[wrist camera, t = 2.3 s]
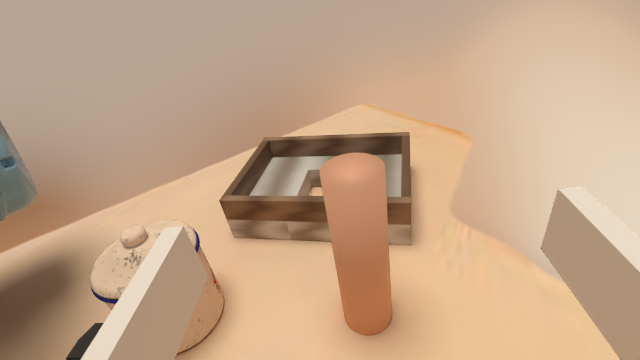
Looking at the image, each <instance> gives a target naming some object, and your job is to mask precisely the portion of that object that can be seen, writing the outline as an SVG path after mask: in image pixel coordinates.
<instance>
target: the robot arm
mask: <svg viewBox="0 0 640 360" xmlns="http://www.w3.org/2000/svg"><path fill="white" fill-rule="evenodd" d="M36 195H37V192H36V188H35V185H34V183H33V181H32V178H31V176H30V174H29V172H28V170H27V168H26V166H25V164H24V162H23V160H22V158H21V156H20V155H19V153H18V151H17V149H16V147H15V145H14V144H13V142H12V140H11V138H10V137H9V135H8V133H7V132H6V130H5V128H4V126H3V125H2V123H1V121H0V221H2V220H4V219H5V218H6V217H7V216H9V215H11V214H13V213H16V212H18V211H20V210H22V209H24V208H26V207H28V206H30V205H31V204H32V203H33V202H34V200H35V199H36ZM541 250H542V251H543V252H544V254H545V255H546V257H547V258H548V259H549V261H550V262H551V264H552V265H553V266H554V268H555V269H556V270H557V272H558V273H559V275H560V276H561V278H562V279H563V280H564V282H565V283H566V284H567V286H568V287H569V289H570V290H571V291H572V293H573V294H574V296H575V297H576V298H577V300H578V301H579V303H580V304H581V305H582V307H583V308H584V310H585V311H586V312H587V314H588V315H589V317H590V318H591V319H592V321H593V322H594V323H595V325H596V326H597V328H598V329H599V330H600V332H601V333H602V335H603V336H604V337H605V339H606V340H607V342H608V343H609V344H610V346H611V347H612V349H613V350H614V351H615V353H616V354H617V355H618V357H619V358H620V360H640V237H638V236H637V235H636V234H635V233H634V232H633V231H632V230H631V229H630V228H629V227H627V226H626V225H625V224H624V223H623V222H622V221H621V220H620V219H618V217H616V216H615V215H614V214H613V213H612V212H611V211H610V210H609V209H608V208H606V207H605V206H604V205H603V204H602V203H601V202H599V200H598V199H597V198H595V197H594V196H593V195H592V194H591V193H590V192H589V191H588V190H587V189H585V188H584V187H583V186H582V187H571V188H561V189H558V191H557V194H556V198H555V202H554V205H553V208H552V211H551V215H550V219H549V222H548V225H547V229H546V232H545V236H544V239H543V243H542V246H541ZM207 277H208V274H207V272H206V270H205V268H204V266H203V264H202V262H201V260H200V258H199V256H198V254H197V252H196V250H195V248H194V246H193V244H192V242H191V240H190V238H189V236H188V234H187V232H186V230H185V228H184V226H177V227H167V228H164V229H163V231H162V232H161V234H160V235H159V237H158V238H157V240H156V242H155V243H154V245H153V246H152V248H151V250H150V251H149V253H148V254H147V256H146V257H145V259H144V261H143V262H142V264H141V265H140V267H139V268H138V270H137V272H136V273H135V275H134V276H133V278H132V279H131V281H130V283H129V284H128V286H127V287H126V289H125V290H124V292H123V294H122V295H121V297H120V298H119V300H118V302H117V303H116V305H115V306H114V308H113V309H112V311H111V313H110V314H109V316H108V317H107V319H106V320H105V322H104V323H95V324H94V325H93V326H92V327H91V328H90V329H89V330H88V331H87V332H86V333H85V334H84V335H83V336H82V337H81V338H80V339H79V340H78V341H77V343H76V344H75V346H74V347H73V349H72V350H71V352H70V353H69V355H68V356H67V358H66V360H174V359H175V357H176V354H177V352H178V349H179V347H180V344H181V342H182V339H183V337H184V334H185V332H186V329H187V327H188V324H189V322H190V319H191V317H192V314H193V312H194V309H195V307H196V304H197V302H198V299H199V297H200V294H201V292H202V289H203V287H204V284H205V282H206V279H207Z"/></svg>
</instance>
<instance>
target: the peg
mask: <svg viewBox="0 0 640 360" xmlns="http://www.w3.org/2000/svg"><path fill="white" fill-rule="evenodd" d="M320 180H321V185H322V191H323V197H324V202H325V208H326V214H327V219H328V225H329V231H330V236H331V242H332V248H333V253H334V259H335V265H336V270H337V276H338V282H339V287H340V293H341V299H342V304H343V310H344V316H345V320H346V322H347V324H348V325H349V327H350V328H351V329H353V330H354V331H355V332H357V333H360V334H364V335H374V334H377V333H380V332H382V331H383V330H384V329H386V328H387V326H388V325H389V323H390V321H391V318H392V307H391V284H390V262H389V240H388V218H387V196H386V173H385V164H384V162H383V161H382V160H381V159H380V158H378V157H377V156H374V155H371V154H367V153H347V154H342V155H339V156H336V157H333V158H332V159H330V160H328V161H327V162H325V163H324V164H323V166H322V167H321V169H320Z"/></svg>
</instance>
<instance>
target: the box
mask: <svg viewBox="0 0 640 360" xmlns="http://www.w3.org/2000/svg"><path fill="white" fill-rule="evenodd" d="M347 153H367V154H371V155H374V156H377V157H378V158H380V159H381V160H382V161H383V162H384V164H385V173H386V196H387V218H388V240H389V244H401V245H411V178H410V134H409V132H399V133H374V134H348V135H322V136H297V137H272V138H264V139H263V141H262V142H261V144H260V145H259V146H258V148H257V149H256V150H255V152H254V153H253V155H252V156H251V157H250V159H249V160H248V162H247V163H246V164H245V166H244V167H243V168H242V170H241V171H240V173H239V174H238V175H237V177H236V178H235V180H234V181H233V182H232V184H231V185H230V186H229V188H228V189H227V191H226V192H225V193H224V195H223V196H222V197H221V199H220V200H219V201H220V204H221V206H222V209H223V211H224V214H225V216H226V219H227V221H228V224H229V226H230V229H231V231H232V234H233V236H234V237H240V238H263V239H286V240H309V241H331V236H330V231H329V225H328V219H327V214H326V208H325V202H324V197H323V196H308V195H309V192H310V189H311V187H322V185H321V180H320V169H321V167H322V166H323V164H324V163H325V162H327V161H328V160H330V159H332V158H333V157H336V156H339V155H342V154H347Z"/></svg>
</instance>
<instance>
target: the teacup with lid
mask: <svg viewBox="0 0 640 360" xmlns="http://www.w3.org/2000/svg"><path fill="white" fill-rule="evenodd" d="M177 226H184V228H185V230H186V232H187V234H188V236H189V238H190V240H191V242H192V244H193V246H194V248H195V250H196V252H197V254H198V256H199V258H200V260H201V262H202V264H203V266H204V268H205V270H206V272H207V274H208V277H207V279H206V282H205V284H204V287H203V289H202V292H201V294H200V297H199V299H198V302H197V304H196V307H195V309H194V312H193V314H192V317H191V319H190V322H189V324H188V327H187V329H186V332H185V334H184V337H183V339H182V342H181V344H180V347H179V349H178V352H177V353H179V352H182V351H184V350H187V349H189V348H190V347H192V346H194V345H195V344H197V343H198V342H200V341H201V340H202V339H203V338H204V337H205V336H206V335H208V333H209V332H210V331H211V330H212V329H213V328H214V326H215V325H216V323H217V321H218V320H219V318H220V316H221V313H222V310H223V305H224V297H223V293H222V290H221V288H220V286H219V284H218V282H217V280H216V278H215V276H214V274H213V272H212V269H211V267H210V265H209V263H208V261H207V259H206V257H205V255H204V253H203V251H202V249H201V247H200V241H199V236H198V234H197V232H196V231H195V230H194V229H193V228H192V227H190V226H189V225H188V224H186V223H183V222H180V221H176V220H163V221H157V222H152V223H149V224H146V225H143V226H141V225H133V226H130V227H128V228H126V229H125V230H124V231H123V232H122V233H121V234H120V238H118V239H117V240H115V241H114V242H113V243H112V244H110V245H109V246H108V247H107V248H106V249H105V250H104V251H103V252H102V253H101V255H100V256H99V257H98V259H97V260H96V262H95V263H94V265H93V268H92V270H91V274H90V284H91V290H92V292H93V294H94V295H95V296H96V297H97V298H98V299H99V300H101V301H103V302H105V303H106V304H107V305H108V306H109V308H110V309H111V310H112V309H113V308H114V306H115V305H116V303H117V302H118V300H119V298H120V297H121V295H122V294H123V292H124V290H125V289H126V287H127V286H128V284H129V283H130V281H131V279H132V278H133V276H134V275H135V273H136V272H137V270H138V268H139V267H140V265H141V264H142V262H143V261H144V259H145V257H146V256H147V254H148V253H149V251H150V250H151V248H152V246H153V245H154V243H155V242H156V240H157V238H158V237H159V235H160V234H161V232H162V231H163V229H164V228H167V227H177Z"/></svg>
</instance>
